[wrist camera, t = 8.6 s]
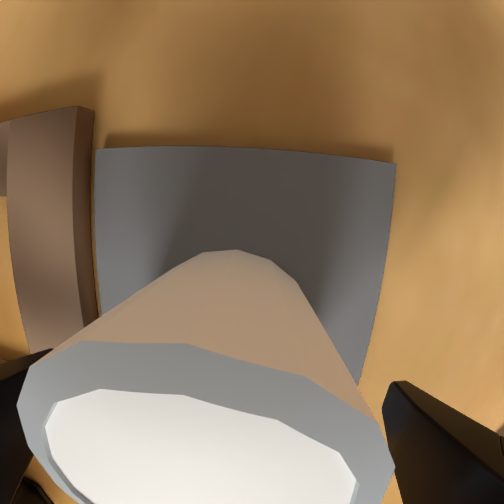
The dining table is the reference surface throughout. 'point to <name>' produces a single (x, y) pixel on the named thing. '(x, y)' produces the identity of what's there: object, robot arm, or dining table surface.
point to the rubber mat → (250, 224)
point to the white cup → (205, 398)
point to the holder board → (50, 221)
